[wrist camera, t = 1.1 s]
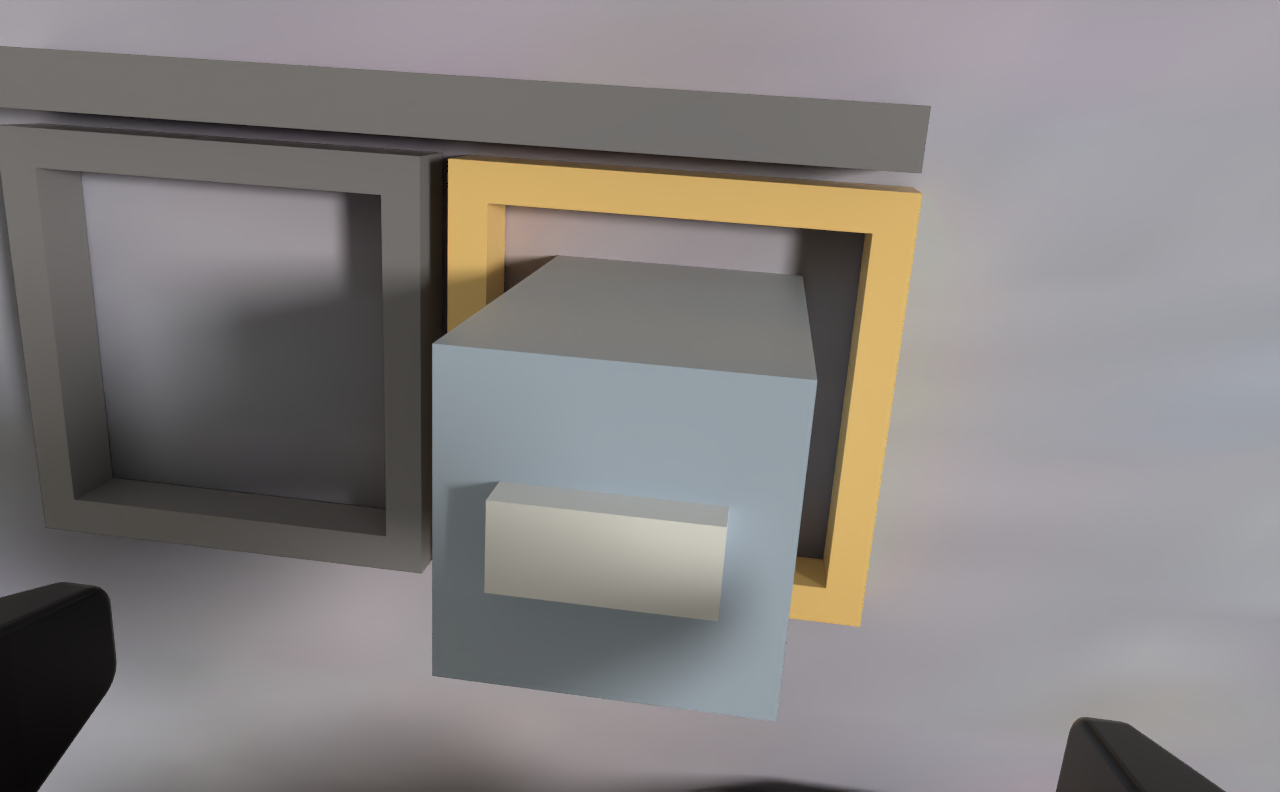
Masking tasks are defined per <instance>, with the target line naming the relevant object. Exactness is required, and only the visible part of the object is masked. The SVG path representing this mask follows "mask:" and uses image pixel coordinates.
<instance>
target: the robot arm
mask: <svg viewBox="0 0 1280 792" xmlns="http://www.w3.org/2000/svg"><path fill="white" fill-rule="evenodd" d="M115 672H116V651H115V641H114V631H113V621H112V612H111V603H110V599H109V597H108V595H107V593H106V592H105V591H104V590H103V589H101V588H100V587H96V586H91V585H83V584H76V583H68V582H60V583H55V584H51V585H47V586H43V587H39V588H35V589H31V590H28V591H24V592H20V593H16V594H12V595H8V596H4V597H1V598H0V792H38V790H39V789H40V787H41V786H42V784H43V783H44V782H45V780H46V779H47V777H48V776H49V774H50V773H51V772H52V770H53V769H54V767H55V766H56V764H57V763H58V762H59V760H60V759H61V757H62V756H63V754H64V753H65V752H66V750H67V749H68V747H69V746H70V744H71V743H72V742H73V740H74V739H75V737H76V736H77V734H78V733H79V732H80V730H81V729H82V727H83V726H84V724H85V723H86V722H87V720H88V719H89V717H90V716H91V714H92V713H93V712H94V710H95V709H96V707H97V706H98V704H99V703H100V702H101V700H102V699H103V697H104V696H105V694H106V693H107V691H108V690H109V688H110V686H111V684H112V682H113V679H114V676H115ZM1056 792H1225V791H1224V790H1222V789H1221V788H1220V787H1218V786H1217V785H1215V784H1214V783H1212V782H1211V781H1210V780H1208V779H1207V778H1205V777H1204V776H1202V775H1201V774H1200V773H1198V772H1197V771H1195V770H1194V769H1192V768H1191V767H1190V766H1188V765H1187V764H1185V763H1184V762H1182V761H1181V760H1180V759H1178V758H1177V757H1175V756H1174V755H1172V754H1171V753H1169V752H1168V751H1167V750H1165V749H1164V748H1162V747H1161V746H1159V745H1158V744H1157V743H1155V742H1154V741H1152V740H1151V739H1149V738H1148V737H1147V736H1145V735H1144V734H1142V733H1141V732H1139V731H1138V730H1137V729H1135V728H1134V727H1132V726H1131V725H1129V724H1127V723H1124V722H1120V721H1112V720H1104V719H1097V718H1089V717H1081V718H1079V719H1077V720H1076V721H1075V722H1074V723H1073V725H1072V727H1071V729H1070V732H1069V736H1068V740H1067V744H1066V749H1065V753H1064V758H1063V762H1062V767H1061V771H1060V776H1059V780H1058V785H1057V789H1056Z"/></svg>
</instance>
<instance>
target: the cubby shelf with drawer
mask: <svg viewBox="0 0 1280 792" xmlns="http://www.w3.org/2000/svg"><path fill="white" fill-rule="evenodd" d="M0 107H3V108H17V109H31V110H45V111H59V112H72V113H86V114H100V115H114V116H128V117H142V118H156V119H170V120H184V121H198V122H212V123H226V124H240V125H254V126H268V127H282V128H296V129H309V130H323V131H337V132H351V133H365V134H379V135H393V136H407V137H421V138H435V139H449V140H463V141H477V142H491V143H505V144H519V145H532V146H546V147H560V148H574V149H588V150H602V151H616V152H630V153H644V154H658V155H672V156H686V157H700V158H714V159H728V160H742V161H756V162H769V163H783V164H797V165H811V166H825V167H839V168H853V169H867V170H881V171H895V172H909V173H921V172H922V165H923V158H924V151H925V144H926V137H927V130H928V123H929V116H930V109H931V106H922V105H907V104H891V103H875V102H860V101H844V100H829V99H813V98H798V97H782V96H767V95H751V94H736V93H720V92H705V91H689V90H673V89H658V88H642V87H627V86H611V85H596V84H580V83H565V82H549V81H534V80H518V79H503V78H487V77H472V76H456V75H440V74H425V73H409V72H394V71H378V70H363V69H347V68H332V67H316V66H301V65H285V64H270V63H254V62H239V61H223V60H207V59H192V58H176V57H161V56H145V55H130V54H114V53H99V52H83V51H68V50H52V49H37V48H21V47H6V46H0ZM81 171H83V172H96V173H109V174H121V175H134V176H147V177H159V178H172V179H185V180H197V181H210V182H223V183H236V184H248V185H261V186H274V187H286V188H299V189H312V190H325V191H337V192H350V193H363V194H375V195H381V230H382V294H383V357H384V420H385V484H386V509H379V508H371V507H362V506H353V505H345V504H336V503H327V502H318V501H310V500H301V499H292V498H284V497H275V496H266V495H257V494H249V493H240V492H231V491H223V490H214V489H205V488H197V487H188V486H179V485H170V484H162V483H153V482H144V481H136V480H127V479H118V478H112V468H111V458H110V449H109V439H108V430H107V420H106V410H105V401H104V391H103V381H102V372H101V362H100V353H99V343H98V333H97V324H96V314H95V305H94V295H93V285H92V276H91V266H90V256H89V247H88V237H87V228H86V218H85V208H84V199H83V189H82V179H81ZM0 172H1V180H2V188H3V196H4V204H5V212H6V219H7V227H8V235H9V243H10V251H11V259H12V266H13V274H14V282H15V290H16V298H17V306H18V314H19V321H20V329H21V337H22V345H23V353H24V361H25V368H26V376H27V384H28V392H29V400H30V408H31V415H32V423H33V431H34V439H35V447H36V455H37V462H38V470H39V478H40V486H41V494H42V502H43V510H44V517H45V525H46V528H52V529H60V530H68V531H77V532H85V533H93V534H101V535H109V536H118V537H126V538H134V539H142V540H151V541H159V542H167V543H175V544H183V545H192V546H200V547H208V548H216V549H225V550H233V551H241V552H249V553H257V554H266V555H274V556H282V557H290V558H298V559H307V560H315V561H323V562H331V563H340V564H348V565H356V566H364V567H372V568H381V569H389V570H397V571H405V572H414V573H422V572H423V571H424V569H425V568H426V567H427V565H428V564H429V563H430V561H431V560H432V343H434V342H435V341H437V340H438V339H440V338H441V337H442V153H438V152H424V151H411V150H397V149H384V148H370V147H356V146H343V145H329V144H315V143H302V142H288V141H274V140H261V139H247V138H233V137H220V136H206V135H193V134H179V133H165V132H152V131H138V130H124V129H111V128H97V127H83V126H70V125H56V124H43V123H41V124H10V125H0ZM921 200H922V193H921V192H919V191H918V190H916V189H915V188H913V187H902V186H888V185H875V184H861V183H847V182H834V181H820V180H806V179H793V178H779V177H765V176H752V175H738V174H725V173H711V172H697V171H684V170H670V169H656V168H643V167H629V166H615V165H602V164H588V163H574V162H561V161H547V160H534V159H520V158H506V157H493V156H479V155H465V156H459V157H454V158H448V309H447V333H448V332H450V331H451V330H452V329H454V328H455V327H457V326H458V325H460V324H461V323H462V322H464V321H465V320H467V319H468V318H469V317H471V316H472V315H474V314H475V313H477V312H478V311H479V310H481V309H482V308H484V307H485V306H487V305H488V304H489V303H491V302H492V301H494V300H495V299H497V298H498V297H499V296H501V295H502V294H504V261H505V214H506V205H515V206H528V207H541V208H553V209H566V210H579V211H591V212H604V213H617V214H630V215H642V216H655V217H668V218H680V219H693V220H706V221H719V222H731V223H744V224H757V225H769V226H782V227H795V228H808V229H820V230H833V231H846V232H858V233H865V240H864V248H863V255H862V263H861V271H860V278H859V286H858V294H857V302H856V309H855V317H854V325H853V333H852V340H851V348H850V356H849V364H848V371H847V379H846V387H845V395H844V402H843V410H842V418H841V426H840V433H839V441H838V449H837V457H836V464H835V472H834V480H833V488H832V495H831V503H830V511H829V519H828V526H827V534H826V542H825V550H824V557H823V559H815V558H806V557H798V556H796V564H795V572H794V580H793V589H792V597H791V605H790V614H789V618H792V619H800V620H808V621H816V622H824V623H833V624H841V625H849V626H857V627H860V623H861V616H862V609H863V602H864V595H865V588H866V581H867V574H868V567H869V560H870V553H871V546H872V539H873V533H874V526H875V519H876V512H877V505H878V498H879V491H880V484H881V477H882V470H883V463H884V456H885V449H886V443H887V436H888V429H889V422H890V415H891V408H892V401H893V394H894V387H895V380H896V373H897V366H898V360H899V353H900V346H901V339H902V332H903V325H904V318H905V311H906V304H907V297H908V290H909V283H910V276H911V270H912V263H913V256H914V249H915V242H916V235H917V228H918V221H919V214H920V207H921Z"/></svg>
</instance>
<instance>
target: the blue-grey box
mask: <svg viewBox="0 0 1280 792" xmlns="http://www.w3.org/2000/svg"><path fill="white" fill-rule="evenodd" d="M816 388H817V373H816V366H815V359H814V352H813V345H812V338H811V331H810V324H809V317H808V310H807V303H806V296H805V289H804V281H803V276H799V275H787V274H775V273H763V272H751V271H739V270H727V269H715V268H703V267H691V266H679V265H668V264H656V263H644V262H632V261H620V260H608V259H596V258H584V257H572V256H560V255H558V256H556V257H555V258H553V259H552V260H551V261H549V262H548V263H546V264H545V265H544V266H542V267H541V268H539V269H538V270H536V271H535V272H534V273H532V274H531V275H529V276H528V277H526V278H525V279H524V280H522V281H521V282H519V283H518V284H516V285H515V286H514V287H512V288H511V289H509V290H508V291H507V292H505V293H504V294H502V295H501V296H499V297H498V298H497V299H495V300H494V301H492V302H491V303H489V304H488V305H487V306H485V307H484V308H482V309H481V310H479V311H478V312H477V313H475V314H474V315H472V316H471V317H469V318H468V319H467V320H465V321H464V322H462V323H461V324H460V325H458V326H457V327H455V328H454V329H452V330H451V331H450V332H448V333H447V334H445V335H444V336H442V337H441V338H440V339H438V340H437V341H435V342H434V343H432V676H438V677H445V678H453V679H460V680H468V681H475V682H483V683H490V684H498V685H505V686H513V687H520V688H528V689H535V690H543V691H550V692H558V693H565V694H573V695H580V696H588V697H595V698H603V699H610V700H618V701H625V702H633V703H640V704H648V705H655V706H663V707H670V708H678V709H685V710H693V711H700V712H708V713H715V714H723V715H730V716H738V717H745V718H753V719H760V720H768V721H775V722H777V714H778V706H779V697H780V689H781V681H782V672H783V664H784V656H785V647H786V639H787V631H788V622H789V614H790V605H791V597H792V589H793V580H794V572H795V564H796V555H797V547H798V539H799V530H800V522H801V514H802V505H803V497H804V489H805V480H806V472H807V464H808V455H809V447H810V438H811V430H812V422H813V413H814V405H815V397H816Z"/></svg>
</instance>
